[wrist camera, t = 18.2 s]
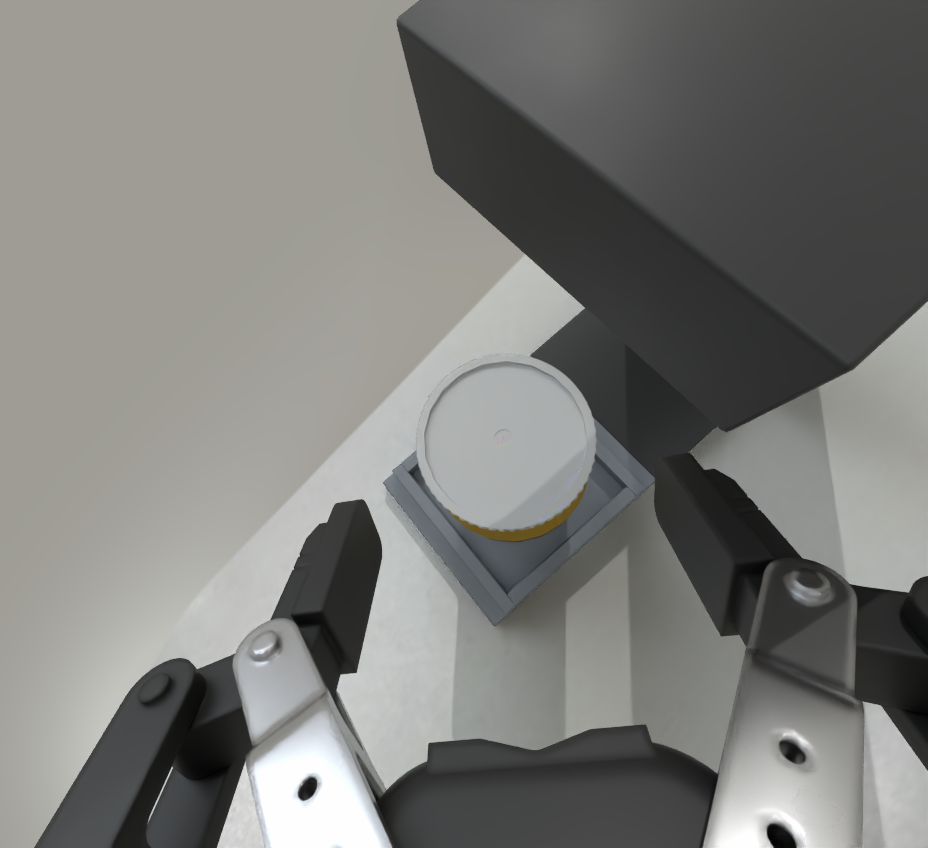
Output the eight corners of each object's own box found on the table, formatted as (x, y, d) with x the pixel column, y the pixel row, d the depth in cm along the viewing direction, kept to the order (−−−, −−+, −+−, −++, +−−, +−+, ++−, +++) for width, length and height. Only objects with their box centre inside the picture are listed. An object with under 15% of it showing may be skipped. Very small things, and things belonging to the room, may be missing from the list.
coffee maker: (495, 623, 28) (269, 1289, 3) (386, 484, 31) (-126, 305, 7) (812, 337, 29) (2225, -625, 5) (676, 233, 33) (1123, -651, 8)
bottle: (459, 533, 29) (391, 535, 14) (467, 431, 30) (413, 340, 16) (566, 542, 27) (611, 553, 13) (568, 436, 29) (610, 342, 15)
